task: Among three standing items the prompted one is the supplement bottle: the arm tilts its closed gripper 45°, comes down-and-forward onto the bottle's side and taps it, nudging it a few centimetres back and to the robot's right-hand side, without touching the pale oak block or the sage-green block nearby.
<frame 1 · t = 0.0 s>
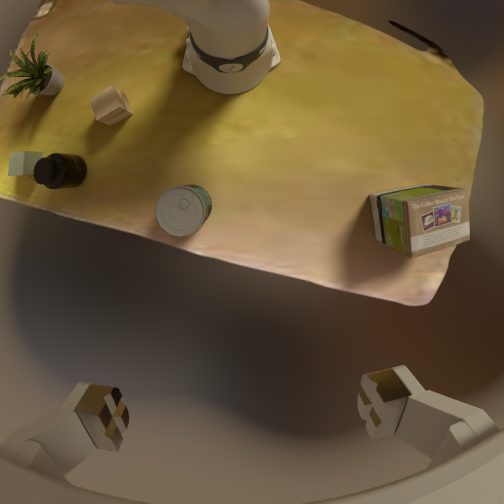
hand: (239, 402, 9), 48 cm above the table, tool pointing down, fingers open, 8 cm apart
oak block: (118, 110, 49), on the table
supplement bottle: (75, 171, 51), on the table
tea box: (401, 211, 56), on the table
house plant: (56, 80, 46), on the table
sage block: (34, 163, 50), on the table
canned tomato: (191, 205, 54), on the table
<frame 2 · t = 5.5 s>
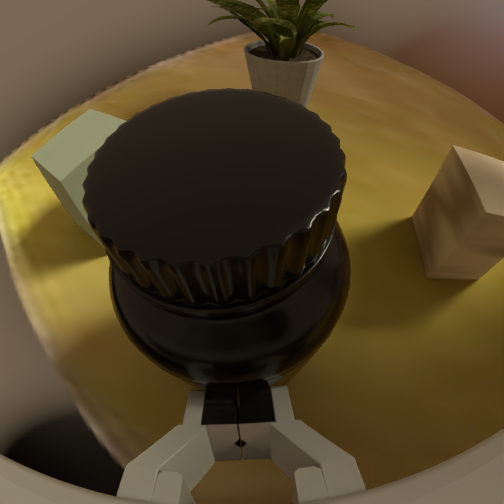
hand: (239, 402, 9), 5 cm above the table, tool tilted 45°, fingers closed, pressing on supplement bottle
oak block: (446, 247, 18), on the table
supplement bottle: (240, 338, 15), on the table, touching gripper
house plant: (285, 100, 27), on the table
sage block: (115, 213, 19), on the table
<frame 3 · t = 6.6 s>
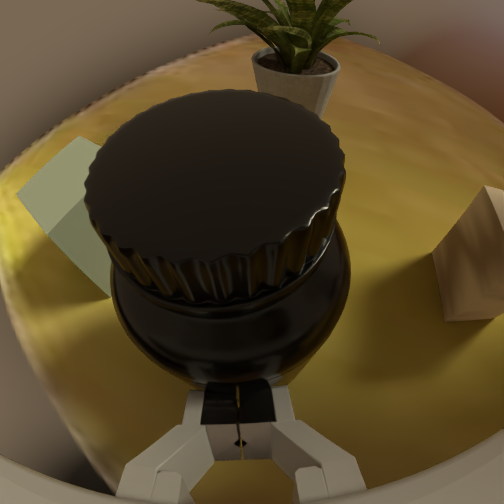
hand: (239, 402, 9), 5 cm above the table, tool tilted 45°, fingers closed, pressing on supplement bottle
oak block: (465, 285, 16), on the table
supplement bottle: (241, 339, 15), on the table, touching gripper
house plant: (295, 113, 25), on the table
sage block: (113, 248, 18), on the table
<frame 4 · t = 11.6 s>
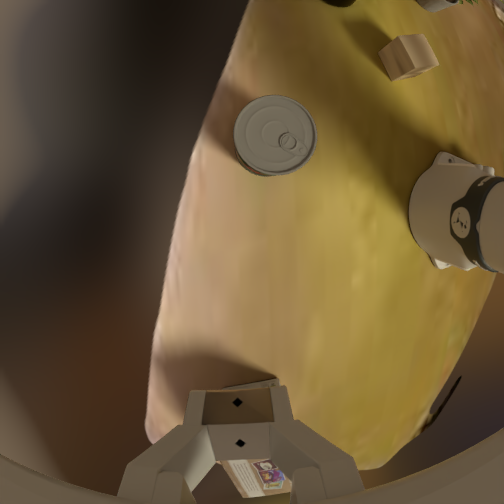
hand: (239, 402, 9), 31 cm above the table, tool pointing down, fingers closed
oak block: (396, 64, 33), on the table
tea box: (258, 411, 47), on the table
house plant: (431, 3, 30), on the table
canned tomato: (265, 146, 36), on the table
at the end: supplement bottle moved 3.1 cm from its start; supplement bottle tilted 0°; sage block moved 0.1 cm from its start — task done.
